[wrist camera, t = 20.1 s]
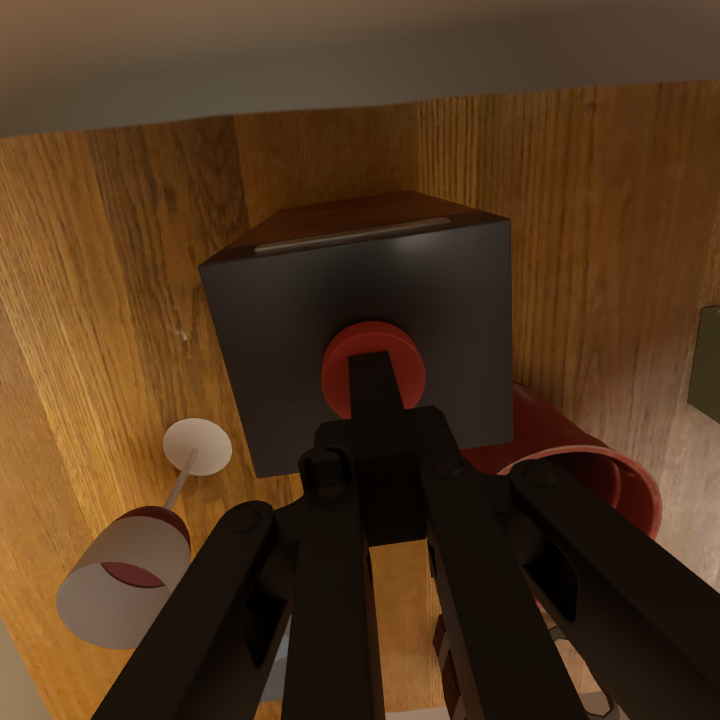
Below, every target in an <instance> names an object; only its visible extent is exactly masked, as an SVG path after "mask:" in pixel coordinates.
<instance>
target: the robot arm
mask: <svg viewBox="0 0 720 720" xmlns="http://www.w3.org/2000/svg"><path fill="white" fill-rule="evenodd" d="M348 368H349V387H350V405H351V418H350V419H343V420H336V421H330V422H323V423H322V424H321V425H320V426H319V427H318V429H317V430H316V431H315V437H314V447H313V448H311V449H309V450H307V451H306V452H305V453H304V454H303V455H302V456H301V457H300V459H299V461H298V463H297V464H298V468H299V472H300V476H301V481H302V485H303V489H304V495H303V496H302V497H301V498H299V499H298V500H296V501H295V502H293V503H291V504H289V505H287V506H284V507H282V508H279V509H276V510H274V511H273V508H272V506H271V505H269V504H268V503H266V502H263V501H258V500H256V501H247V502H244V503H241V504H239V505H236V506H234V507H233V508H231V509H230V510H228V511H227V512H226V513H225V514H224V515H223V516H222V517H221V518H220V520H219V521H218V523H217V524H216V526H215V527H214V529H213V531H212V532H211V534H210V535H209V537H208V538H207V540H206V541H205V543H204V544H203V546H202V548H201V549H200V551H199V552H198V554H197V555H196V557H195V558H194V560H193V562H192V563H191V565H190V566H189V568H188V569H187V571H186V572H185V574H184V575H183V577H182V579H181V580H180V582H179V583H178V585H177V586H176V588H175V589H174V591H173V592H172V594H171V596H170V597H169V599H168V600H167V602H166V603H165V605H164V606H163V608H162V610H161V611H160V613H159V614H158V616H157V617H156V619H155V620H154V622H153V623H152V625H151V627H150V628H149V630H148V631H147V633H146V634H145V636H144V637H143V639H142V641H141V642H140V644H139V645H138V647H137V648H136V650H135V651H134V653H133V654H132V656H131V658H130V659H129V661H128V662H127V664H126V665H125V667H124V668H123V670H122V671H121V673H120V675H119V676H118V678H117V679H116V681H115V682H114V684H113V685H112V687H111V689H110V690H109V692H108V693H107V695H106V696H105V698H104V699H103V701H102V702H101V704H100V706H99V707H98V709H97V710H96V712H95V713H94V715H93V716H92V718H91V720H253V719H254V716H255V713H256V711H257V708H258V705H259V702H260V699H261V697H262V694H263V691H264V688H265V686H266V683H267V680H268V677H269V674H270V672H271V669H272V666H273V663H274V660H275V658H276V655H277V652H278V649H279V646H280V644H281V641H282V638H283V635H284V632H285V630H286V627H287V624H288V621H289V618H290V616H291V623H290V633H289V643H288V653H287V663H286V673H285V683H284V692H283V702H282V712H281V720H385V709H384V697H383V686H382V675H381V664H380V653H379V642H378V631H377V619H376V608H375V597H374V586H373V575H372V564H371V558H370V552H369V547H373V546H380V545H387V544H394V543H401V542H408V541H415V540H422V539H426V537H427V544H428V553H429V562H430V571H431V578H432V577H434V580H435V584H436V588H437V592H438V597H439V601H440V605H441V610H442V614H443V618H444V622H445V627H446V631H447V635H448V640H449V644H450V648H451V652H452V657H453V661H454V665H455V670H456V674H457V678H458V682H459V687H460V691H461V695H462V700H463V704H464V708H465V712H466V717H467V720H589V718H588V715H587V713H586V711H585V709H584V707H583V705H582V702H581V700H580V698H579V696H578V693H577V691H576V689H575V687H574V685H573V682H572V680H571V678H570V676H569V674H568V671H567V669H566V667H565V665H564V663H563V661H562V658H561V656H560V654H559V652H558V650H557V647H556V645H555V643H554V641H553V639H552V636H551V634H550V632H549V630H548V628H547V625H546V623H545V621H544V619H543V617H542V615H541V612H540V610H539V608H538V606H537V604H536V601H535V599H534V597H533V595H534V596H535V597H536V599H537V600H538V601H539V603H540V604H541V605H542V606H543V608H544V609H545V610H546V612H547V613H548V614H549V616H550V617H551V618H552V619H553V621H554V622H555V623H556V625H557V626H558V627H559V628H560V630H561V631H562V632H563V634H564V635H565V636H566V638H567V639H568V640H569V641H570V643H571V644H572V645H573V647H574V648H575V649H576V650H577V652H578V653H579V654H580V656H581V657H582V658H583V660H584V661H585V662H586V663H587V665H588V666H589V667H590V669H591V670H592V671H593V672H594V674H595V675H596V676H597V678H598V679H599V680H600V682H601V683H602V684H603V685H604V687H605V688H606V689H607V691H608V692H609V693H610V694H611V696H612V697H613V698H614V700H615V701H616V702H617V704H618V705H619V706H620V707H621V709H622V710H623V711H624V713H625V714H626V715H627V716H628V718H629V719H630V720H720V594H719V593H718V592H717V591H716V590H714V589H713V588H712V587H711V586H709V585H708V584H707V583H706V582H704V581H703V580H702V579H701V578H699V577H698V576H697V575H696V574H695V573H693V572H692V571H691V570H690V569H688V568H687V567H686V566H685V565H683V564H682V563H681V562H680V561H678V560H677V559H676V558H675V557H674V556H672V555H671V554H670V553H669V552H667V551H666V550H665V549H664V548H662V547H661V546H660V545H659V544H657V543H656V542H655V541H654V540H653V539H651V538H650V537H649V536H648V535H646V534H645V533H644V532H643V531H641V530H640V529H639V528H638V527H636V526H635V525H634V524H633V523H632V522H630V521H629V520H628V519H627V518H625V517H624V516H623V515H622V514H620V513H619V512H618V511H617V510H615V509H614V508H613V507H612V506H611V505H609V504H608V503H607V502H606V501H604V500H603V499H602V498H601V497H599V496H598V495H597V494H596V493H594V492H593V491H592V490H591V489H590V488H588V487H587V486H586V485H585V484H583V483H582V482H581V481H580V480H578V479H577V478H576V477H575V476H573V475H572V474H571V473H570V472H569V471H567V470H566V469H565V468H563V467H562V466H560V465H558V464H556V463H554V462H551V461H547V460H544V459H528V460H523V461H520V462H518V463H516V464H514V465H513V467H512V468H511V469H510V471H509V475H497V474H489V473H484V472H481V471H478V470H476V469H475V468H474V466H473V465H472V463H471V462H470V461H469V460H467V459H465V458H464V457H463V456H462V454H461V452H460V449H459V447H458V445H457V443H456V440H455V438H454V436H453V433H452V431H451V429H450V427H449V424H448V423H447V420H446V418H445V415H444V413H443V412H442V411H441V410H439V409H438V408H436V407H435V406H434V405H431V406H424V407H417V408H410V409H404V405H403V402H402V398H401V395H400V391H399V388H398V384H397V381H396V377H395V374H394V370H393V366H392V363H391V359H390V356H389V352H388V350H386V351H379V352H372V353H365V354H359V355H352V356H348ZM425 533H426V534H425ZM531 592H532V593H531ZM532 594H533V595H532ZM291 613H292V614H291Z"/></svg>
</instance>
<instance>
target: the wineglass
mask: <svg viewBox="0 0 720 720" xmlns="http://www.w3.org/2000/svg"><path fill="white" fill-rule="evenodd" d="M163 449H164V453H165V455H166V457H167V458H168V460H169V462H170V463H172V464H173V465H174V466H175V467H176V468H177V469H179V470H181V473H180V475H179V477H178V479H177V481H176V483H175V485H174V487H173V489H172V490H171V492H170V494H169V496H168V498H167V500H166V502H165V504H164V506H163V507H158V506H144V507H140V508H136V509H134V510H131V511H129V512H127V513H125V514H124V515H122V516H121V517H119V518H118V519H116V520H115V521H114V522H112V523H111V524H110V525H109V526H108V527H107V528H106V529H104V530H103V531H102V532H101V533H100V535H99V536H98V537H97V538H96V539H95V540H94V541H93V543H92V544H91V545H90V546H89V548H88V549H87V550H86V552H85V553H84V554H83V556H82V557H81V558H80V560H79V561H78V562H77V563H76V565H75V566H74V567H73V569H72V570H71V572H70V573H69V574H68V576H67V577H66V579H65V580H64V582H63V583H62V584H61V586H60V589H59V591H58V594H57V609H58V613H59V615H60V618H61V619H62V621H63V622H64V624H65V625H66V626H67V627H68V629H69V630H70V631H71V632H73V633H74V634H75V635H76V636H78V637H80V638H81V639H83V640H85V641H87V642H89V643H91V644H94V645H97V646H100V647H105V648H110V649H132V648H137V647H138V645H139V644H140V642H141V641H142V639H143V637H144V636H145V634H146V633H147V631H148V630H149V628H150V627H151V625H152V623H153V622H154V620H155V619H156V617H157V616H158V614H159V613H160V611H161V610H162V608H163V606H164V605H165V603H166V602H167V600H168V599H169V597H170V596H171V594H172V592H173V591H174V589H175V588H176V586H177V585H178V583H179V582H180V580H181V579H182V577H183V575H184V574H185V572H186V571H187V569H188V568H189V564H190V557H191V546H190V536H189V532H188V530H187V527H186V525H185V523H184V522H183V520H182V519H181V518H180V517H179V516H178V515H177V514H175V513H174V512H172V511H171V509H172V507H173V505H174V503H175V501H176V499H177V497H178V495H179V493H180V491H181V489H182V487H183V484H184V482H185V480H186V478H187V476H188V474H192V475H196V476H202V475H210V474H214V473H217V472H218V471H220V470H221V469H223V468H224V467H225V466H226V465H227V464H228V462H229V461H230V459H231V455H232V445H231V441H230V439H229V437H228V435H227V433H226V432H225V431H224V430H223V429H222V428H221V427H219V426H218V425H216V424H214V423H213V422H211V421H208V420H204V419H200V418H187V419H184V420H181V421H178V422H176V423H175V424H173V425H172V426H171V427H169V429H168V430H167V432H166V433H165V435H164V439H163Z"/></svg>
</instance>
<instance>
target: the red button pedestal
mask: <svg viewBox="0 0 720 720" xmlns="http://www.w3.org/2000/svg"><path fill="white" fill-rule="evenodd" d="M198 270H199V273H200V277H201V280H202V284H203V288H204V291H205V295H206V298H207V302H208V305H209V309H210V313H211V316H212V320H213V323H214V327H215V330H216V334H217V338H218V341H219V345H220V348H221V352H222V355H223V359H224V363H225V366H226V370H227V373H228V377H229V380H230V384H231V388H232V391H233V395H234V398H235V402H236V405H237V409H238V413H239V416H240V420H241V423H242V427H243V430H244V434H245V438H246V441H247V445H248V448H249V452H250V455H251V459H252V463H253V466H254V470H255V473H256V477H257V478H265V477H272V476H279V475H286V474H293V473H300V472H299V468H298V464H297V463H298V461H299V459H300V457H301V456H302V455H303V454H304V453H305V452H306V451H307V450H309V449H311V448H313V447H314V437H315V431H316V430H317V429H318V427H319V426H320V425H321V424H322V423H323V422H330V421H336V420H343V418H342V417H340V416H339V415H338V414H337V413H336V412H334V411H333V409H332V408H331V407H330V406H329V404H328V403H327V401H326V399H325V397H324V394H323V391H322V385H321V375H322V363H323V357H324V354H325V351H326V349H327V347H328V345H329V344H330V342H331V341H332V340H333V338H334V337H335V336H336V335H337V334H339V333H340V332H341V331H342V330H344V329H345V328H347V327H349V326H351V325H354V324H357V323H360V322H365V321H380V322H385V323H388V324H391V325H394V326H396V327H398V328H399V329H401V330H402V331H404V332H405V333H406V334H407V335H408V336H409V337H410V338H411V339H412V341H413V342H414V344H415V346H416V348H417V350H418V352H419V355H420V357H421V359H422V362H423V365H424V368H425V379H426V380H425V387H424V390H423V393H422V396H421V398H420V400H419V401H418V403H417V404H416V406H415V407H414V408H417V407H424V406H431V405H434V406H435V407H436V408H438V409H439V410H441V411H442V412H443V413H444V415H445V418H446V420H447V423H448V424H449V427H450V429H451V431H452V433H453V436H454V438H455V440H456V443H457V445H458V447H459V449H460V450H461V449H468V448H475V447H482V446H489V445H496V444H503V443H510V442H513V373H512V283H511V220H510V219H509V218H505V217H502V216H498V215H495V214H491V213H488V212H484V211H481V210H478V209H475V208H471V207H468V206H464V205H461V204H457V203H454V202H450V201H447V200H443V199H439V198H436V197H432V196H429V195H425V194H422V193H418V192H415V191H411V190H408V191H402V192H395V193H388V194H382V195H375V196H369V197H362V198H355V199H349V200H342V201H336V202H329V203H323V204H316V205H309V206H303V207H296V208H290V209H283V210H279V211H278V212H276V213H275V214H273V215H272V216H270V217H269V218H267V219H266V220H265V221H263V222H262V223H260V224H259V225H257V226H256V227H254V228H253V229H251V230H250V231H248V232H247V233H245V234H244V235H242V236H241V237H239V238H238V239H236V240H235V241H234V242H232V243H231V244H229V245H228V246H226V247H225V248H223V249H222V250H221V251H219V252H218V253H216V254H215V255H213V256H212V257H210V258H209V259H207V260H206V261H205V262H203V263H202V264H200V265H199V266H198Z"/></svg>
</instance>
